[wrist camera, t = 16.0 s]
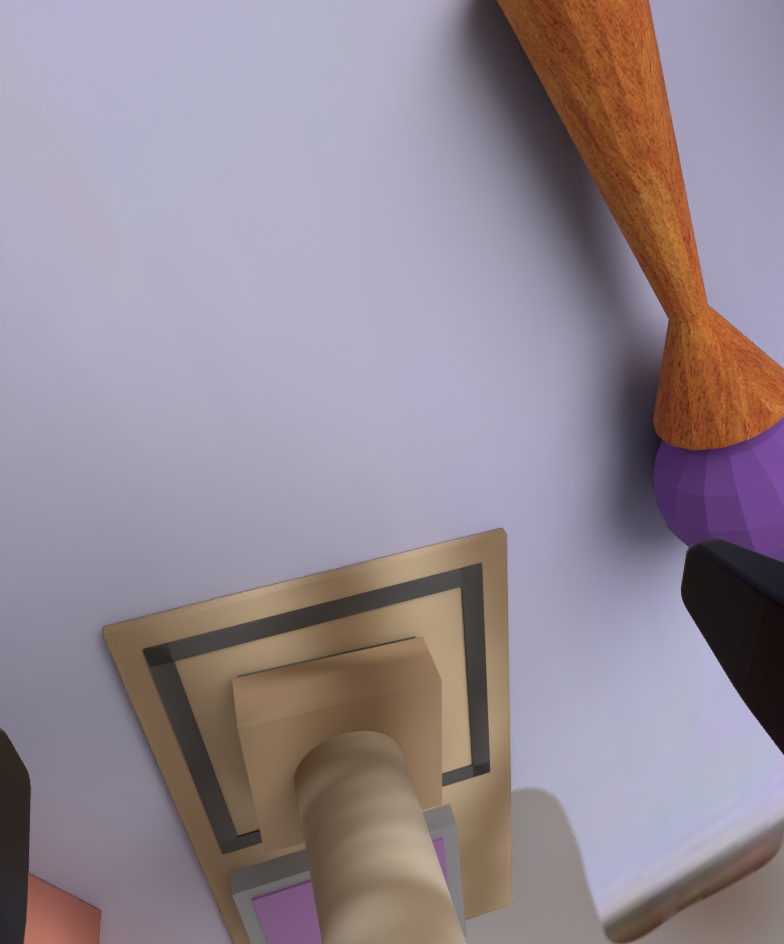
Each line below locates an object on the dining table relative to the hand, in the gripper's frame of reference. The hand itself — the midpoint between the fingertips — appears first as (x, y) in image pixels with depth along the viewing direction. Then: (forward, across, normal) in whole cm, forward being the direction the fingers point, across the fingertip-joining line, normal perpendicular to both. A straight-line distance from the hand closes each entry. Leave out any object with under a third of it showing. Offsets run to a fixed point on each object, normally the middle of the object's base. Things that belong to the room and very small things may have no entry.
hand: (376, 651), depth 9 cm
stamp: (+13, 0, +16) cm, 20 cm away
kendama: (+14, -12, +1) cm, 18 cm away
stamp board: (+13, 0, +22) cm, 25 cm away
